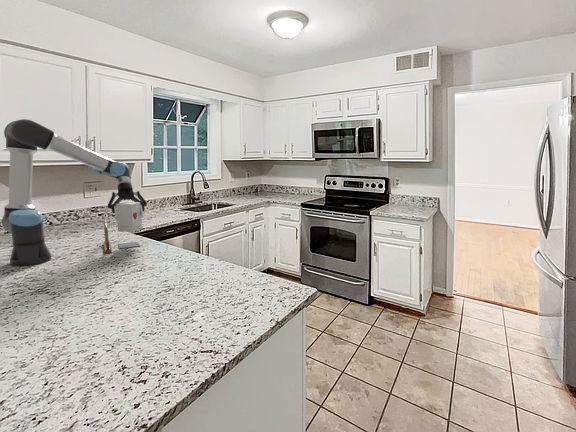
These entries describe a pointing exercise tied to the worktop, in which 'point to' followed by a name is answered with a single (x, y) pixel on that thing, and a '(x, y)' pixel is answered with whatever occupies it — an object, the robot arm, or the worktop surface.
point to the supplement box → (129, 216)
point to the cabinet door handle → (106, 240)
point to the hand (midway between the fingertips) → (129, 216)
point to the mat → (129, 245)
